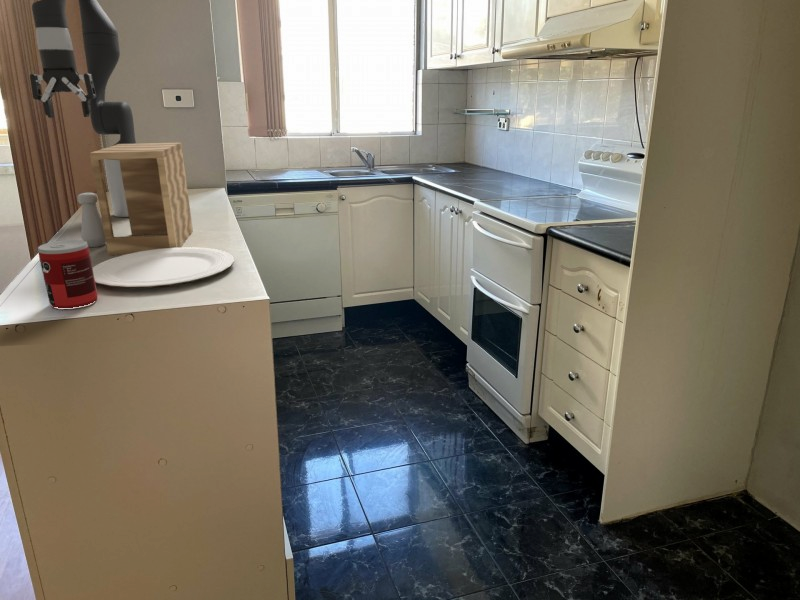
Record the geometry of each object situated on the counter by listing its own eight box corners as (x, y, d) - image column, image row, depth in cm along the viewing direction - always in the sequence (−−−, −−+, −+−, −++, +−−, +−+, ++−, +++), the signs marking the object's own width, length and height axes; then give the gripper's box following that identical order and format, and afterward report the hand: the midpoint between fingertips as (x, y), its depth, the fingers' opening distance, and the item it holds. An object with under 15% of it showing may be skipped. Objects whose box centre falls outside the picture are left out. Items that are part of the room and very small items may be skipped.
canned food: (61, 297, 113) (49, 240, 109) (105, 295, 113) (94, 238, 110) (42, 311, 105) (28, 251, 102) (88, 309, 106) (77, 249, 102)
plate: (240, 251, 144) (239, 243, 143) (228, 289, 117) (227, 280, 116) (111, 258, 139) (109, 250, 138) (68, 299, 112) (66, 290, 111)
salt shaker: (98, 248, 147) (88, 195, 142) (77, 247, 148) (67, 194, 143) (113, 242, 152) (104, 191, 148) (94, 241, 153) (84, 190, 149)
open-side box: (133, 233, 161) (118, 144, 153) (192, 231, 163) (181, 142, 155) (108, 255, 140) (89, 152, 133) (177, 252, 143) (162, 151, 135)
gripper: (91, 49, 152) (103, 116, 157) (31, 49, 150) (45, 117, 155) (81, 47, 145) (93, 117, 150) (18, 47, 143) (33, 118, 148)
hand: (69, 117), depth 153 cm, fingers open, 8 cm apart
